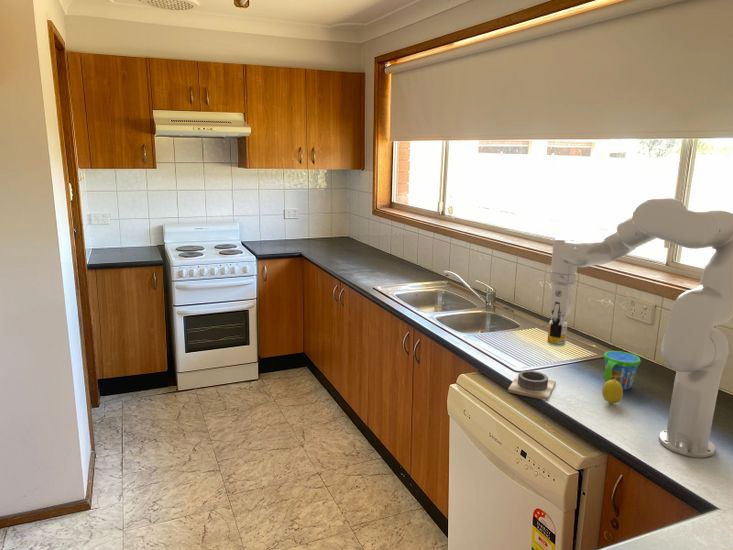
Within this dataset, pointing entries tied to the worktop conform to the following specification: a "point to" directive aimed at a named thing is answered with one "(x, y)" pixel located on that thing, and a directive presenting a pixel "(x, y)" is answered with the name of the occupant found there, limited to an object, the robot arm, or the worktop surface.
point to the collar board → (532, 385)
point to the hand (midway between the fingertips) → (557, 333)
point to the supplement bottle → (561, 341)
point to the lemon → (612, 391)
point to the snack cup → (621, 367)
